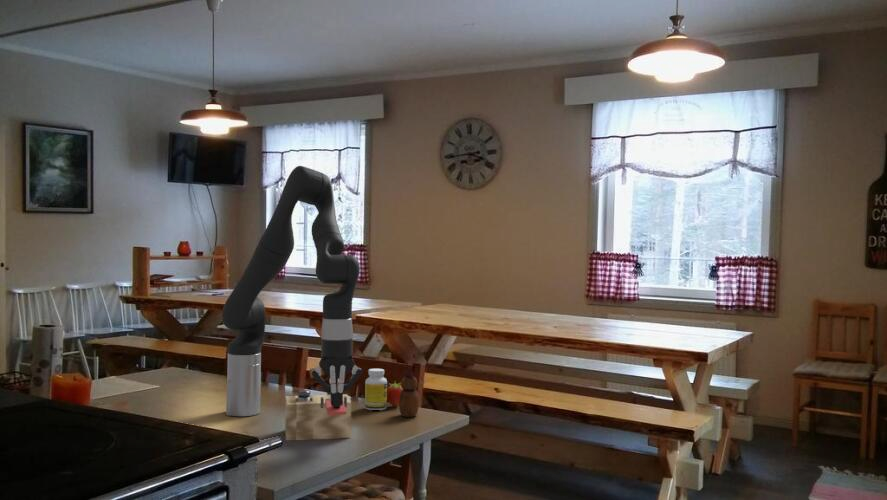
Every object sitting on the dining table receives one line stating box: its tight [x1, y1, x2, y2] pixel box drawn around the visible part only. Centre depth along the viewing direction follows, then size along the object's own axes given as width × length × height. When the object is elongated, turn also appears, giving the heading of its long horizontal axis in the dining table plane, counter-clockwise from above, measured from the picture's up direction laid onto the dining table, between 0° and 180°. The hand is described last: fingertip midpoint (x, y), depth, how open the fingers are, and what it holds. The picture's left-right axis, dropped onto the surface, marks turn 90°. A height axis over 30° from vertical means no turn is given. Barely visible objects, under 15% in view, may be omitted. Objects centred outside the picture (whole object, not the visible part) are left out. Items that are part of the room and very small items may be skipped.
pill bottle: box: [364, 368, 388, 411], centre depth 226 cm, size 6×6×12 cm
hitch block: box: [284, 393, 352, 441], centre depth 195 cm, size 16×12×11 cm
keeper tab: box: [325, 399, 347, 415], centre depth 187 cm, size 4×10×1 cm, turn 13°
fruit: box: [387, 381, 403, 408], centre depth 229 cm, size 5×5×8 cm
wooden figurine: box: [398, 362, 420, 418], centre depth 218 cm, size 7×6×15 cm
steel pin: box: [297, 389, 311, 402], centre depth 195 cm, size 3×3×11 cm
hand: (336, 407), depth 185 cm, fingers closed
